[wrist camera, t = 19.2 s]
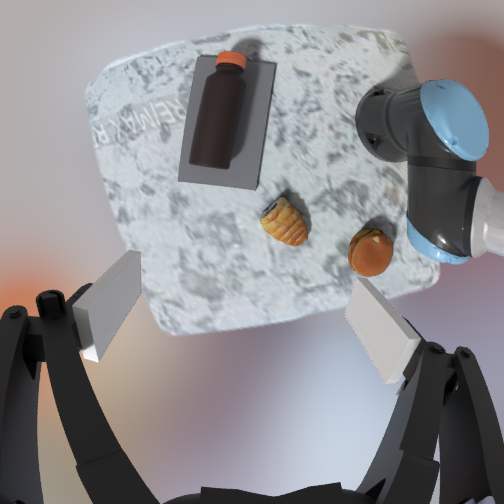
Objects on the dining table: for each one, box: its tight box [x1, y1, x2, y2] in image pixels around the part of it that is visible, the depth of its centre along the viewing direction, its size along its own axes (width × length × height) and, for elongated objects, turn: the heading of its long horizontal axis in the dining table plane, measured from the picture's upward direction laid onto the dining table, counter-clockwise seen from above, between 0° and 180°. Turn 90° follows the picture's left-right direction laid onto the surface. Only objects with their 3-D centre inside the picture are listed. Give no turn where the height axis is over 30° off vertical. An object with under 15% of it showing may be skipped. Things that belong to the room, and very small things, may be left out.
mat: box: [178, 57, 275, 190], centre depth 43 cm, size 14×24×1 cm, turn 172°
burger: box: [348, 229, 393, 277], centre depth 51 cm, size 10×9×5 cm
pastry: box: [260, 197, 308, 246], centre depth 49 cm, size 9×7×4 cm
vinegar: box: [189, 51, 247, 170], centre depth 39 cm, size 7×7×20 cm
